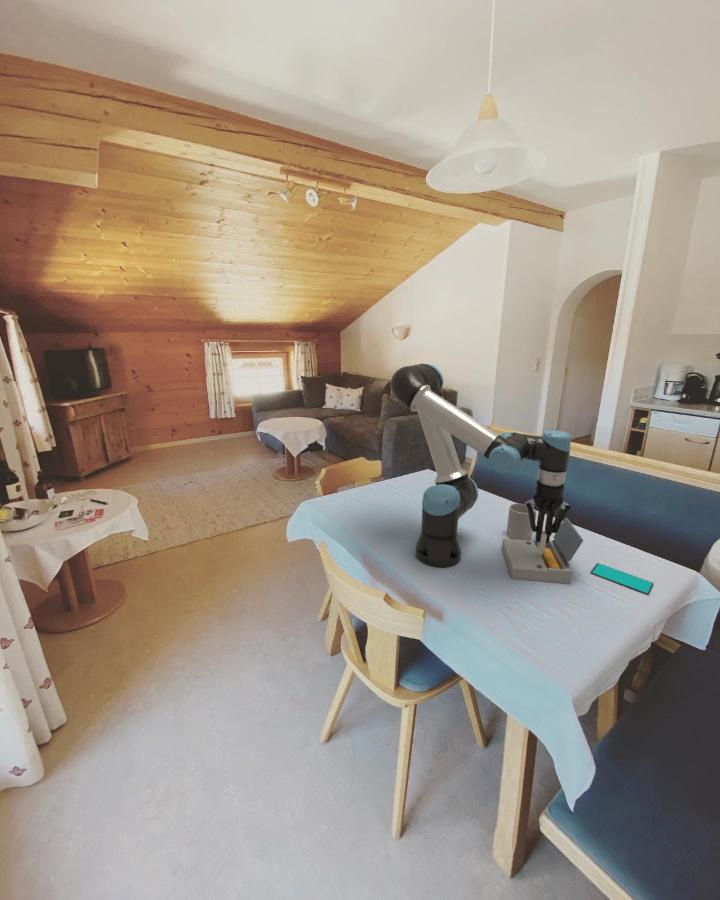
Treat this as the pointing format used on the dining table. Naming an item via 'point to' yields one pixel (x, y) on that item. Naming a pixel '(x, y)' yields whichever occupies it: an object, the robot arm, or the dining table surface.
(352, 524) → the dining table surface
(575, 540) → the cover
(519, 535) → the mug
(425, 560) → the robot arm
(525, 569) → the hinged lid box
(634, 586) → the smartphone
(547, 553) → the capsule
